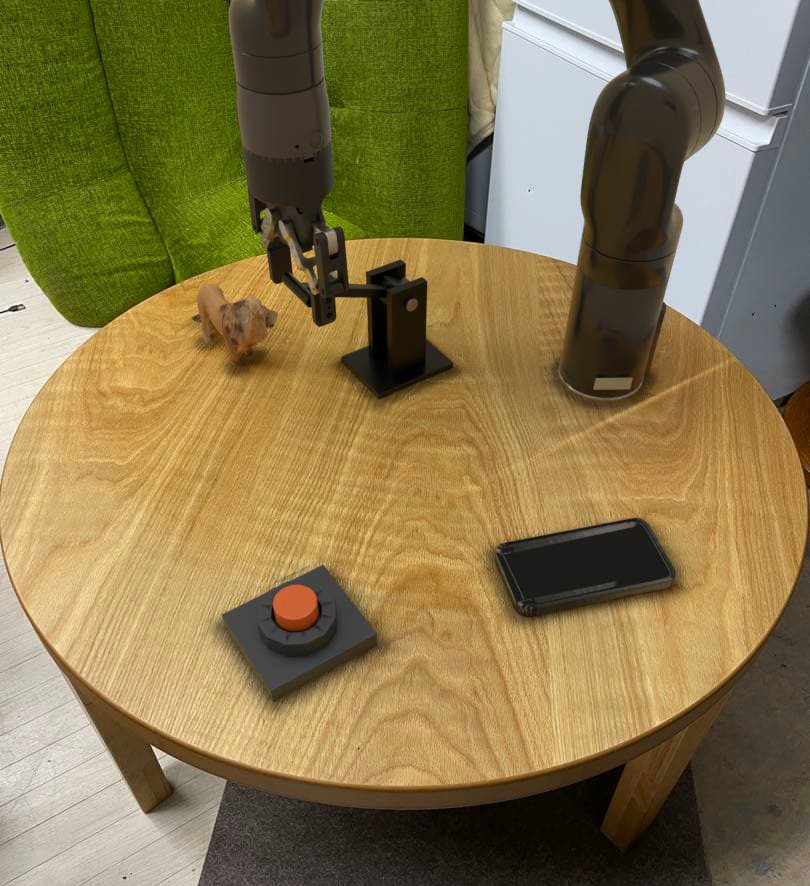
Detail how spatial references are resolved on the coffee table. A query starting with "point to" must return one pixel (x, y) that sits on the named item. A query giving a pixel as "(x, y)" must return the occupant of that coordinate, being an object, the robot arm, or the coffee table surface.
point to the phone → (583, 566)
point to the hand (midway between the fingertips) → (303, 301)
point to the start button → (295, 608)
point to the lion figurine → (234, 320)
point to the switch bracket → (396, 337)
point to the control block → (299, 635)
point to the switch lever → (353, 292)
